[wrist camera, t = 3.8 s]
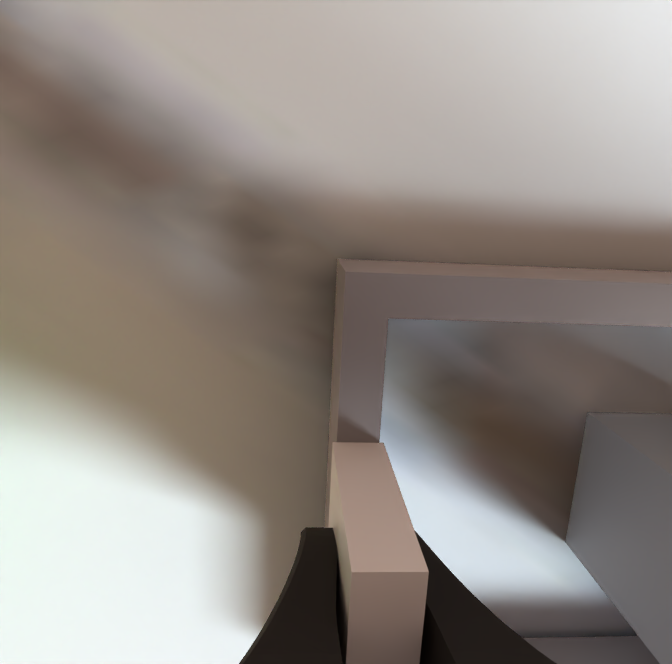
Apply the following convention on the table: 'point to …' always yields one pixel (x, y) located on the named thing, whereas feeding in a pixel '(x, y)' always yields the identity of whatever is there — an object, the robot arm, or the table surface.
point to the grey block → (628, 519)
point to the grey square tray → (371, 457)
